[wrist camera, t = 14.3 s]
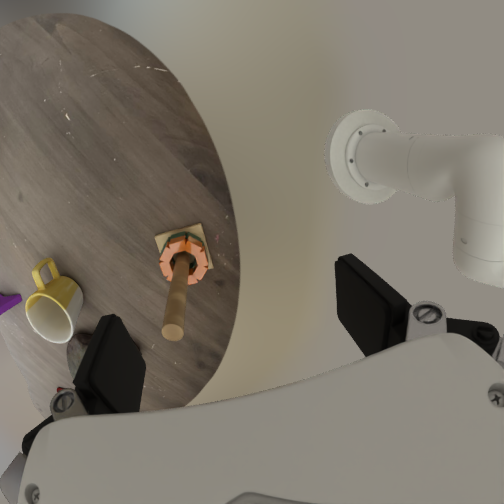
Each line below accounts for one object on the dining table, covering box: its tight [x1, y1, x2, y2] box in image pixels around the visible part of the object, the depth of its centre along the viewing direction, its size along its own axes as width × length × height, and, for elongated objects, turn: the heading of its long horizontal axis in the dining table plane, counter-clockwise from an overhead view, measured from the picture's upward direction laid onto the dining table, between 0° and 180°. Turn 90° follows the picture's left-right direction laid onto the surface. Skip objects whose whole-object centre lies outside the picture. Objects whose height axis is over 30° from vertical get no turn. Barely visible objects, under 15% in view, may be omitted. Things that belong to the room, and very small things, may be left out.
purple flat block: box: [0, 294, 22, 315], centre depth 39 cm, size 10×2×10 cm
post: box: [155, 223, 213, 341], centre depth 35 cm, size 8×8×22 cm
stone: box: [67, 334, 142, 379], centre depth 46 cm, size 19×14×10 cm
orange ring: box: [159, 235, 209, 285], centre depth 41 cm, size 7×7×2 cm
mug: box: [26, 258, 83, 343], centre depth 39 cm, size 14×10×10 cm
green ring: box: [160, 231, 207, 269], centre depth 43 cm, size 7×7×2 cm
